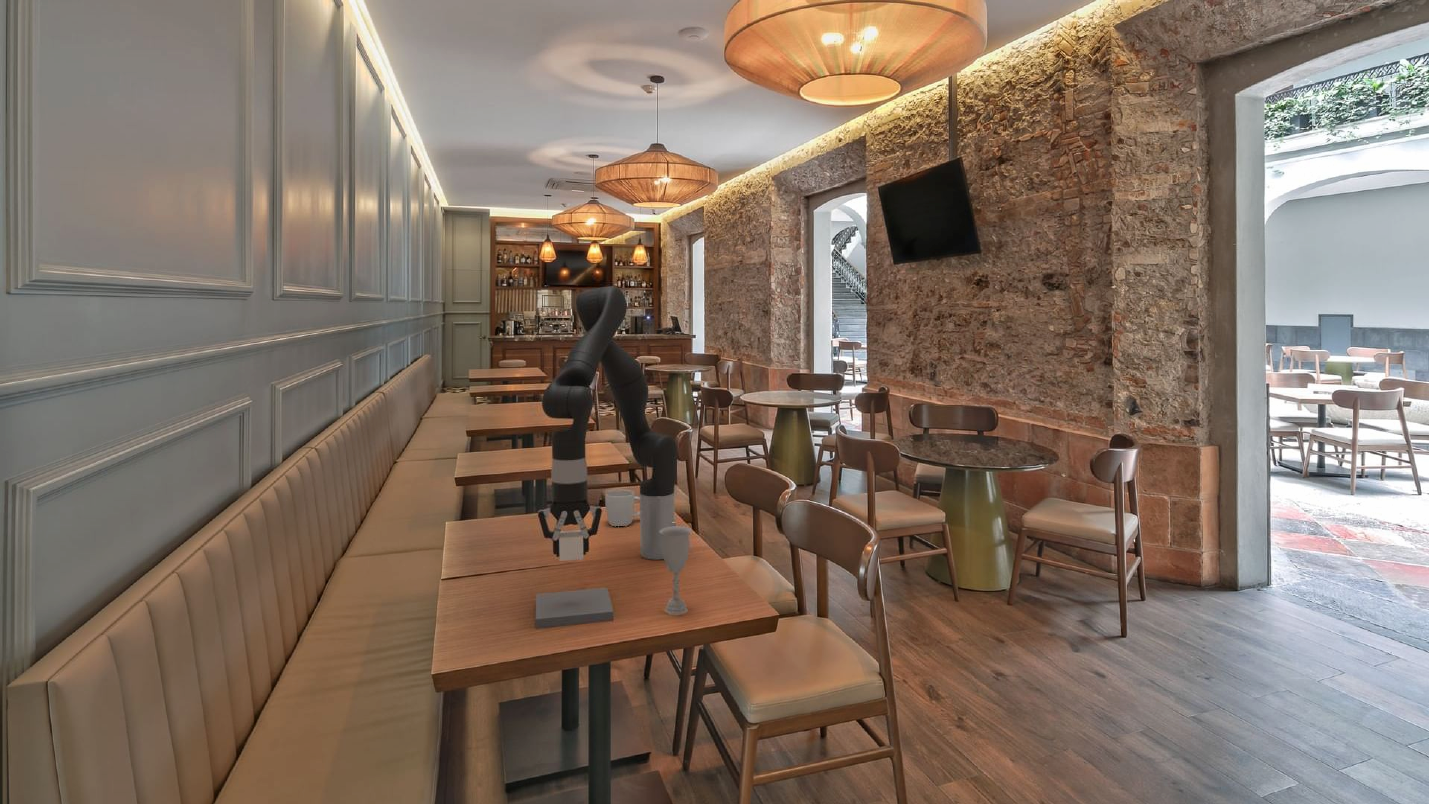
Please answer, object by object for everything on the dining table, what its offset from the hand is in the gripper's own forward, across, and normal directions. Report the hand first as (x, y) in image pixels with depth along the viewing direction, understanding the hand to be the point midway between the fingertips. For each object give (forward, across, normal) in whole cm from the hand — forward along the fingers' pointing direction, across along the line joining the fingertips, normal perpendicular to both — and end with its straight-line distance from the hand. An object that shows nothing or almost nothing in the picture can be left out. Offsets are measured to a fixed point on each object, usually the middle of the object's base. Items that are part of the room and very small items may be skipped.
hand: (571, 554), depth 156 cm
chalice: (+13, -22, +5) cm, 26 cm away
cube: (0, 0, 0) cm, 0 cm away
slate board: (+13, 0, 0) cm, 13 cm away
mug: (+13, -19, -65) cm, 69 cm away
